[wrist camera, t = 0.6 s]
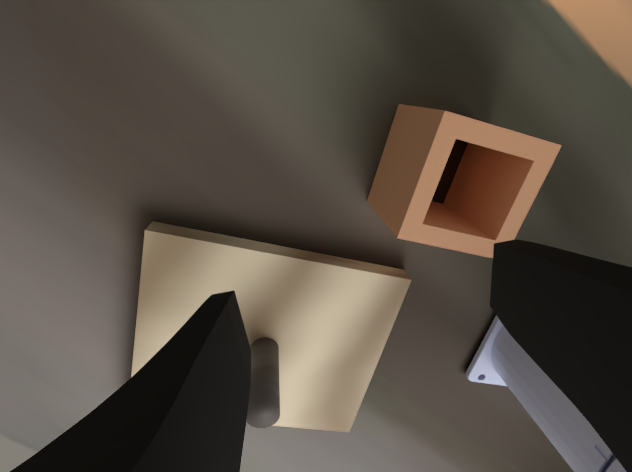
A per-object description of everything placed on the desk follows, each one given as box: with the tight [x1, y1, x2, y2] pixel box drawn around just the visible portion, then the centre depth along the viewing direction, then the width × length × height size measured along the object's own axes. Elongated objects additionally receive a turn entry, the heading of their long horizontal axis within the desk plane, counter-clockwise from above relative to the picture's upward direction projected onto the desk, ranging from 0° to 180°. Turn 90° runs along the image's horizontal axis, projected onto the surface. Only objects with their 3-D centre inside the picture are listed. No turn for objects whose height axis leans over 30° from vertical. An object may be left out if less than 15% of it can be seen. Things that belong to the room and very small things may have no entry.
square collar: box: [367, 104, 562, 258], centre depth 16 cm, size 5×5×5 cm
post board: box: [131, 221, 411, 432], centre depth 19 cm, size 14×12×6 cm
